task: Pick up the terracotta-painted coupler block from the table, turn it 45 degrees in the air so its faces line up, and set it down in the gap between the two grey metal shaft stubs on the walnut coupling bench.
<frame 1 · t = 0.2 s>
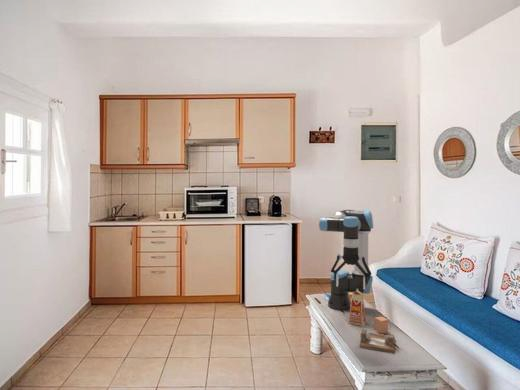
hand: (350, 287, 175), 28 cm above the table, fingers open, 13 cm apart
milk carton: (357, 322, 200), on the table
coupling bench: (377, 343, 173), on the table
coupler block: (381, 331, 187), on the table
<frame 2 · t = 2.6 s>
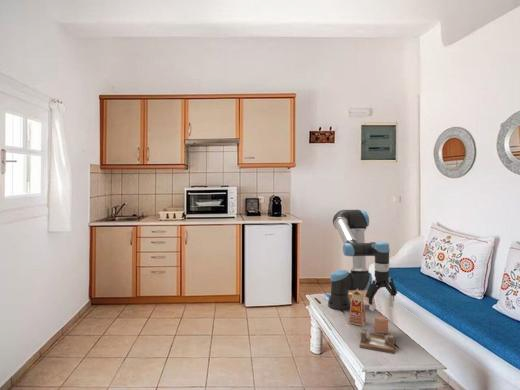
hand: (381, 308, 186), 13 cm above the table, fingers open, 13 cm apart
nothing on the table moved.
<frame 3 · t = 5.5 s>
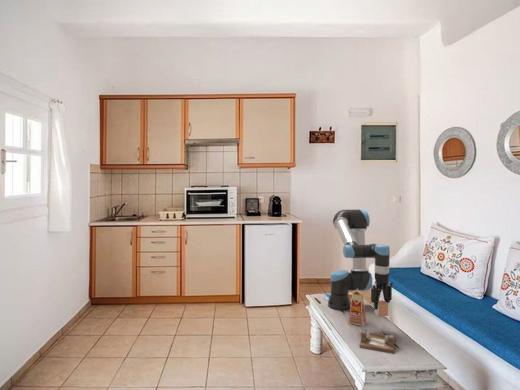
hand: (381, 313, 187), 9 cm above the table, fingers closed on coupler block, 5 cm apart
coupler block: (381, 314, 187), point 9 cm above the table, touching gripper
everything else where it was.
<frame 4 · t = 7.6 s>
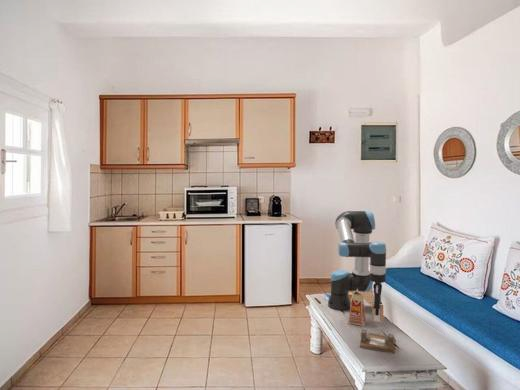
hand: (377, 318, 170), 13 cm above the table, fingers closed on coupler block, 5 cm apart
coupler block: (377, 319, 170), point 13 cm above the table, touching gripper
everything else where it was.
when the fingers open (2 cm above the table, at t = 9.7 s): coupler block stays where it is, resting on coupling bench.
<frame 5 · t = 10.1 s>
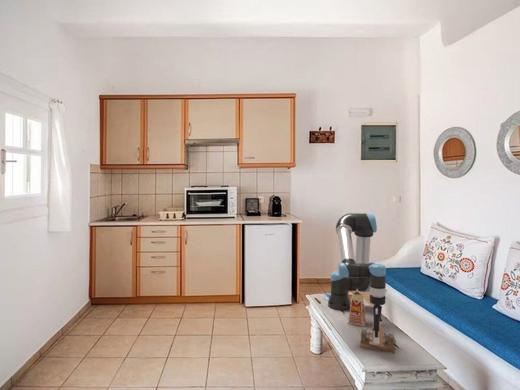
hand: (377, 338, 171), 3 cm above the table, fingers open, 10 cm apart
coupler block: (377, 341, 171), point 2 cm above the table, touching coupling bench
everything else where it was.
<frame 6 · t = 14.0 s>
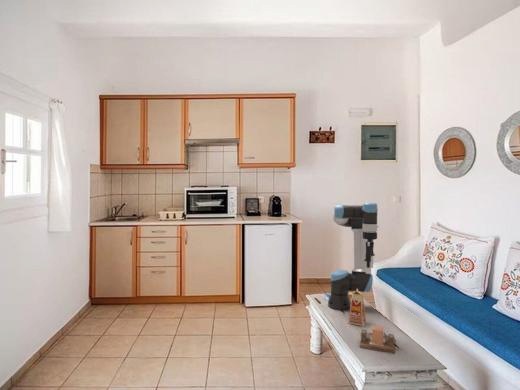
hand: (369, 270, 183), 35 cm above the table, fingers open, 13 cm apart
nothing on the table moved.
at the end: coupler block 0.2 cm from the target spot on the coupling bench, point 1.6 cm above the coupling bench's base; coupler block tilted 0°; the gripper is holding nothing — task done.
